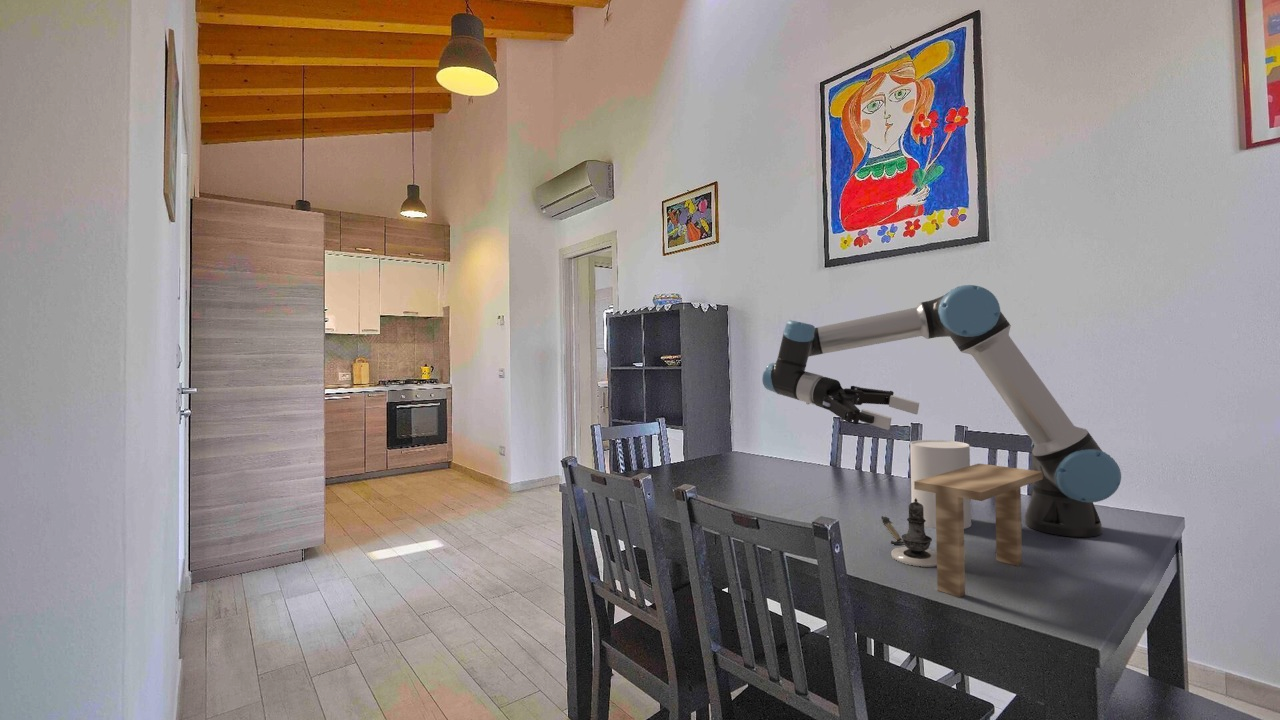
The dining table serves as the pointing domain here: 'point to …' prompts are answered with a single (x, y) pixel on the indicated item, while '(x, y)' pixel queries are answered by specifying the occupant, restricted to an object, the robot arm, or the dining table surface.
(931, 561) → the coaster
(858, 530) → the dining table surface
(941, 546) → the wooden stool
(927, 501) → the canister
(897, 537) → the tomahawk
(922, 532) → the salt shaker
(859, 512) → the dining table surface
